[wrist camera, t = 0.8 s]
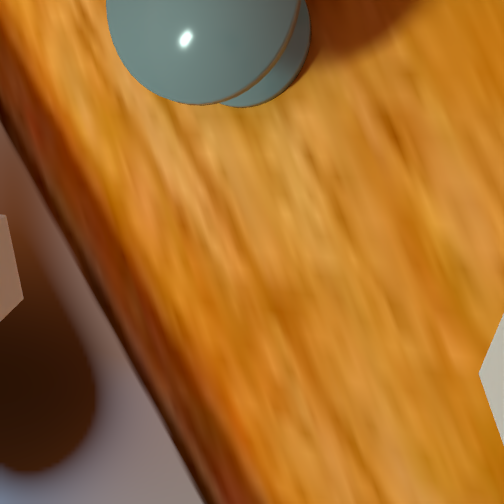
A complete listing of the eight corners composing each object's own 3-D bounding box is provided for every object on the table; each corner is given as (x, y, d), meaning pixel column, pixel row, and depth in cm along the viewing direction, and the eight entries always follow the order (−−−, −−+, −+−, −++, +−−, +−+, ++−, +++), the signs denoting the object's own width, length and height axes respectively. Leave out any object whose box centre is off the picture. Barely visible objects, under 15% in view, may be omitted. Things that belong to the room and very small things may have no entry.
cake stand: (355, 63, 33) (336, 24, 25) (215, 150, 37) (161, 140, 29) (277, -88, 33) (234, -174, 25) (147, 15, 37) (75, -31, 29)
